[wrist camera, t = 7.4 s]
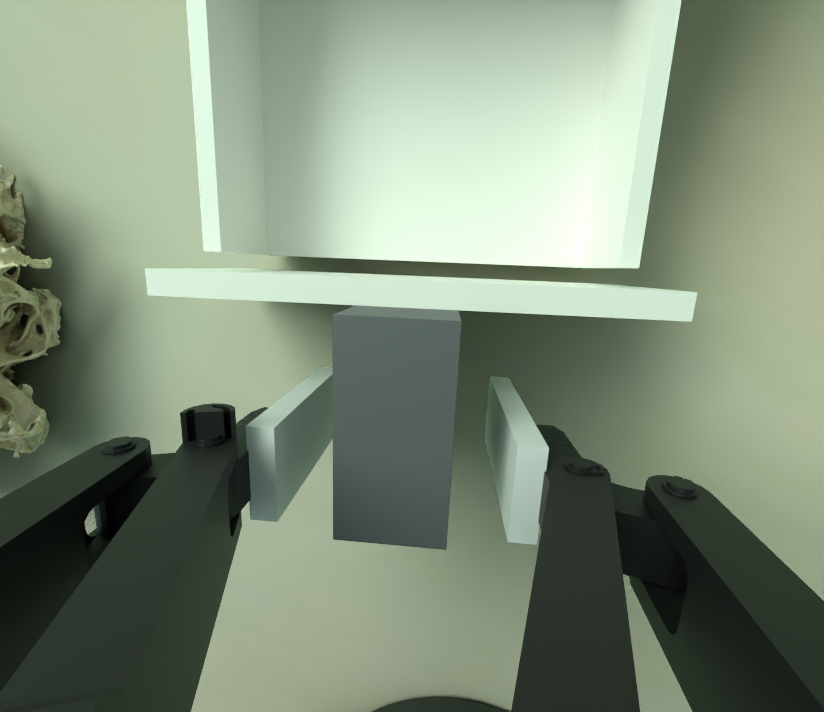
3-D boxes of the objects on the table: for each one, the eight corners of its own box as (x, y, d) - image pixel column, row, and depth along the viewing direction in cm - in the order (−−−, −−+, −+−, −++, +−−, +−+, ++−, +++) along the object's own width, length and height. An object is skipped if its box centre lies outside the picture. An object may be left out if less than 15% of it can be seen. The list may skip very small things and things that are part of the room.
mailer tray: (589, 438, 18) (703, 572, 10) (248, 414, 19) (107, 518, 11) (704, -357, 12) (1179, -1506, 4) (211, -323, 13) (-132, -1184, 5)
